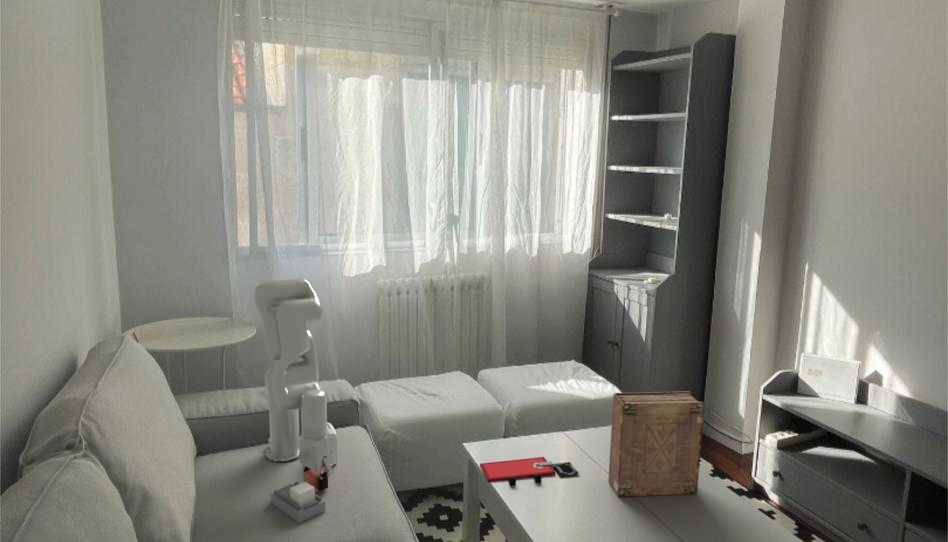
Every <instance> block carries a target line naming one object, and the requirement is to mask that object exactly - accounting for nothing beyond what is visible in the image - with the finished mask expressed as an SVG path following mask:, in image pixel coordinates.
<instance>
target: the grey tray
mask: <svg viewBox="0 0 948 542" xmlns="http://www.w3.org/2000/svg"><path fill="white" fill-rule="evenodd" d="M298 484H300V483H299V482H298V481H295V482H294V483H291V482H290V483H289V484H286V485H283V486H280V487H278V488H277V489H275V490H274V491H273V492H271V493H270V503H271V502H272V503H273V504H272V503H271V504H272V505H274V506H275V507H276V506H277V507H276V508H278V509H280V510H281V511H282V512H283V513H284V514H286V515H288V516H289V517H290V518H292V519H293V520H294V521H296V522H297V523H299V524H300V523H302V522H305V521H307V520H309V519H311V518H313V517H315V516H318V515H320V514H321V513H325V512H326V501H325V500H323V498H322V497H321V496H320V495H318V494H316V493H315V501H313V502H311V503H309V504H307V505H304V506H302V507H300V506H299V505H297V504H296V503H294V502H293V501H291V500H290V488H291V487H293V486H296V485H298Z"/></svg>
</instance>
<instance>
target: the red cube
mask: <svg viewBox="0 0 948 542" xmlns="http://www.w3.org/2000/svg"><path fill="white" fill-rule="evenodd" d="M321 473H322V474H323V473H324V469H323V470H321ZM318 479H319V475H318V472H315V471H313V470H308V471H305V472H303V482H307V483H308V484H310V485H311V486H313V487H314V488H315V491H316V490H318Z"/></svg>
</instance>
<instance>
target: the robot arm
mask: <svg viewBox="0 0 948 542" xmlns="http://www.w3.org/2000/svg"><path fill="white" fill-rule="evenodd" d="M254 302H255V306H256V307H257V311H258V313H259V315H260V318H261V320H262V325H263V335H264V342H265V350H266V355H267V358H268V359H269V360H271V361H273V362H277V363H276V365H274V366H272V367H270V368H268V369H267V370H266V371H265V374H264V383H265V387H266V392H267V399H268V414H269V415H268V416H269V417H268V420H269V438H268V439H267V441H268V443H270V444H269V445H270V447H269V448H268V449H267V450H266V452H265V456H266V459H267V458H268V459H267V460H269V459H271V460H277V461H282V460H290V459H294V458H297V457H299V458H297V459H299V463H300V464H302V466H301V468H302V469H303V471H302V472H303V473H304V472H305V471H308V470H313V471H315V472H318V475H319V479H318V491H317V492H322V491H324V490H326V489H328V488H329V476H330V475H331V473H332V472H333V468H332V466H330V464H329V461H330V459H329V446H328V439H327V422H328V412H327V408H328V407H327V405H328V404H327V403H328V402H327V399H328V398H327V393H326V392H325V390H323V388H322V386H321V385H320V383H318V382H319V376H320V375H319V366H318V365H319V364H318V360H317V359H318V358H317V357H318V356H317V348H316V342H315V338H314V335H313V333H312V332H311V330H308V327H307V326H308V325H315V324H319V323H321V322H322V321H323V317H324V311H323V310H324V309H323V307H322V306H323V305H322V303H321V301H320V299H319V297H318V295H317V293H316V291H315V290H314V288H313V287H312V284H310V282H309V281H308V280H307V279H304V278H291V279H278V280H270V281H266V282H262V283H259V284H258V285H257V286H256V287H255V290H254ZM298 358H300V360H299V361H294V360H296V359H298ZM293 361H294V362H293ZM299 409H300V411H299ZM299 412H300V414H299ZM299 416H300V417H299ZM300 420H301V421H300ZM300 422H301V432H300ZM271 460H270V461H271ZM321 470H324V473H323V474H322V473H321Z"/></svg>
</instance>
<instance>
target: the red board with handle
mask: <svg viewBox="0 0 948 542" xmlns="http://www.w3.org/2000/svg"><path fill="white" fill-rule="evenodd" d="M479 466H480V468H481V470H482V473H483V474H484V476H485V478H486V480H487V482H488V483H489V482H490V483H491V482H498V481H500V482H501V481H508V484H509V486H510V487H512V486H516V484H517V480H521V479H529V478H534V483H535V484H542V477H548V476H556V472H557V474H558V475H559V476H561V477H562V476H569V475H570V476H571V475H579V474H580V473H579V471H578V470H577V469H576V467H574V466H573V464H572V463H571V462H570V461H567V462H559V463H558V462H557V463H553V462H552V461H548V460H547V459H546V458H545V457H544V456H542V457H541V456H540V457H530V458H521V459H512V460H503V461H501V460H500V461H494V462H493V461H492V462H483V463H479Z"/></svg>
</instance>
